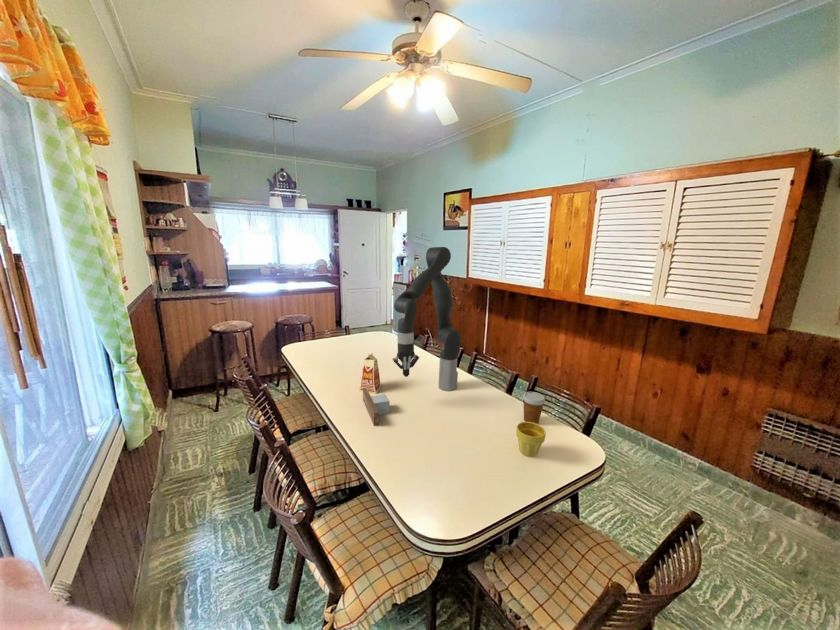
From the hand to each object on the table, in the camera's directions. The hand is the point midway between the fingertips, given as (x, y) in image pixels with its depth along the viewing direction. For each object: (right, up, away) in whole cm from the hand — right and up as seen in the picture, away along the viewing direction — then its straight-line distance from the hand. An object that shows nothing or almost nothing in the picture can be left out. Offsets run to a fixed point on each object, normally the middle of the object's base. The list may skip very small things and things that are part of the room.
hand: (406, 376), depth 153 cm
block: (-12, -16, -2) cm, 20 cm away
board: (-16, -16, -4) cm, 23 cm away
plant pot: (+48, -24, -29) cm, 61 cm away
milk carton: (-20, -10, +19) cm, 29 cm away
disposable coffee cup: (+57, -19, -7) cm, 60 cm away
